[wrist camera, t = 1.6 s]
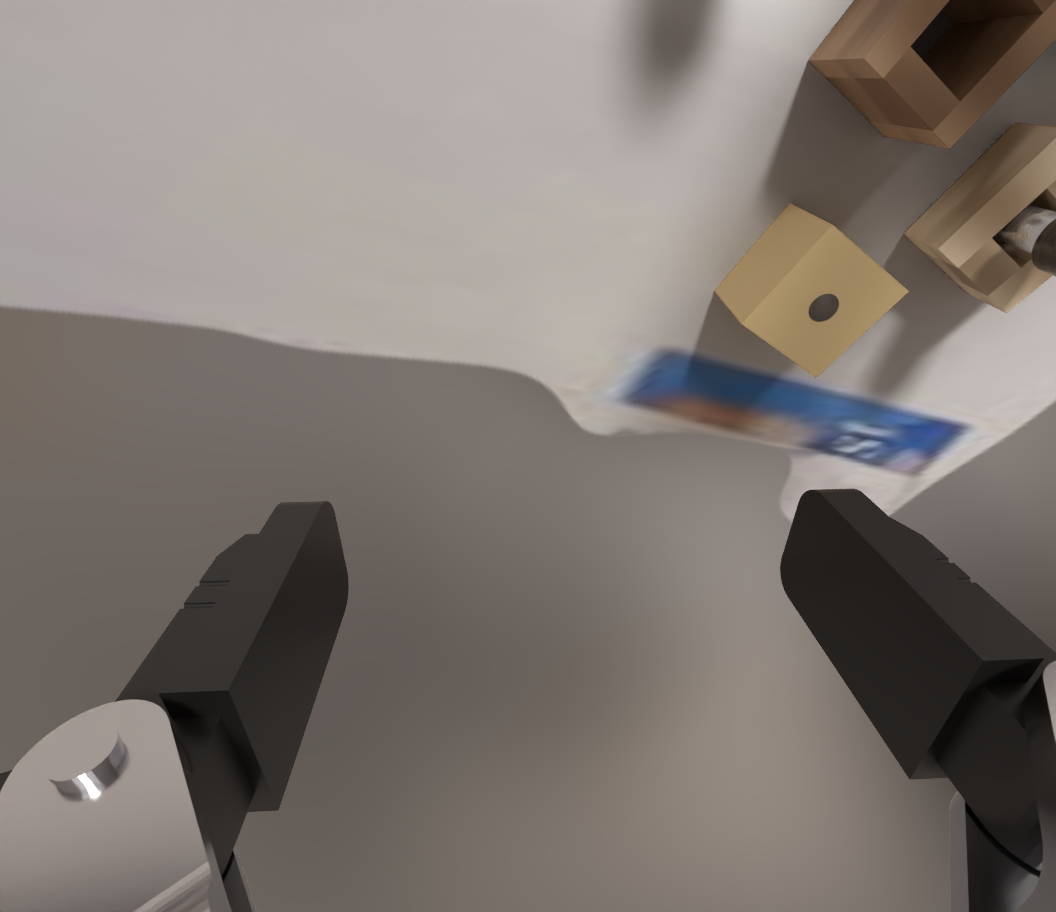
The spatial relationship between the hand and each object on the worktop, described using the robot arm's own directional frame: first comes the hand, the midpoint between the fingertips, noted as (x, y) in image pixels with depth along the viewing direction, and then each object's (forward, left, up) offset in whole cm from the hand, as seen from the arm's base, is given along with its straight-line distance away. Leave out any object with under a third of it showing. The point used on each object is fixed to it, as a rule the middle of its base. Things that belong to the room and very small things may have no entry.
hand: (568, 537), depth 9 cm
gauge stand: (-13, +19, -23) cm, 33 cm away
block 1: (-5, +13, -24) cm, 27 cm away
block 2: (-15, +9, -23) cm, 29 cm away
